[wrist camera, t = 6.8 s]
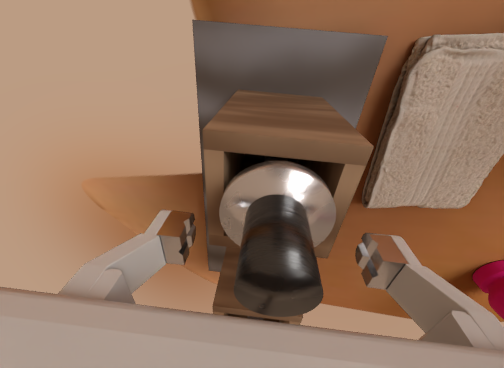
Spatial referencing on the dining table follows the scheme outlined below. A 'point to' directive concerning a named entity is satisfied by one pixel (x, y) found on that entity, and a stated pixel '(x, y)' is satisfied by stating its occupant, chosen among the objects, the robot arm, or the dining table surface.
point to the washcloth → (441, 124)
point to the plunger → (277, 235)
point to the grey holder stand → (278, 120)
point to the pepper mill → (492, 284)
